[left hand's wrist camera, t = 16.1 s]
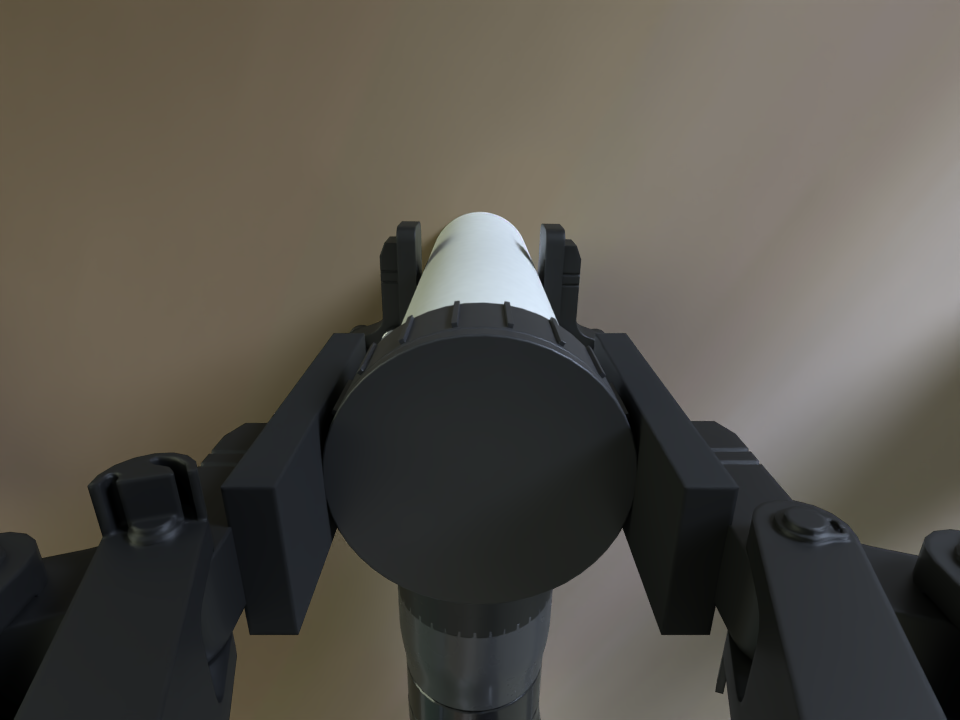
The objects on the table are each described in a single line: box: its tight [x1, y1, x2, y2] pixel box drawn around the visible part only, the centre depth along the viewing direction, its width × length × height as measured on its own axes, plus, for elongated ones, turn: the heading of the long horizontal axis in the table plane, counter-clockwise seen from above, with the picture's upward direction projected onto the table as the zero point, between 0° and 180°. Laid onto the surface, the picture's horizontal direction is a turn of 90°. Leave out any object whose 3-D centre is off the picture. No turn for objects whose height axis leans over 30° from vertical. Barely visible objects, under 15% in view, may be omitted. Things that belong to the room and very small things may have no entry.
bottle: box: [402, 212, 559, 325], centre depth 20 cm, size 5×5×19 cm
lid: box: [322, 301, 638, 604], centre depth 11 cm, size 6×6×2 cm
